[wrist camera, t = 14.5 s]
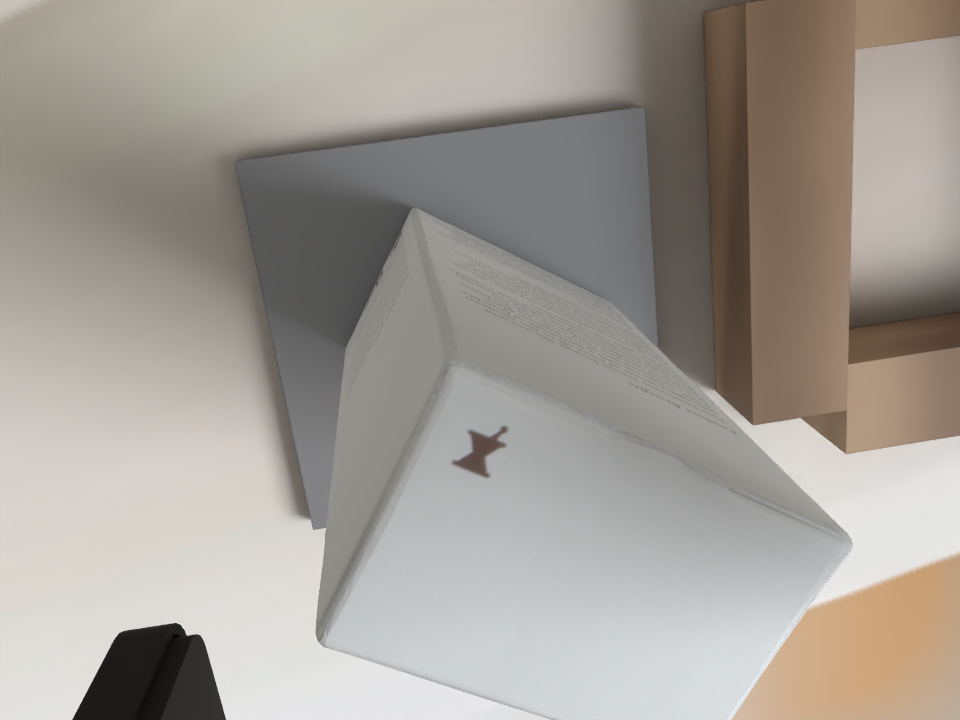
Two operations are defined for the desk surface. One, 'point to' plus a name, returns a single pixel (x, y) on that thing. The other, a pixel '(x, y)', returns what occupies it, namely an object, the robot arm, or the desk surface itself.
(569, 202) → the grey rubber mat
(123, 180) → the desk surface
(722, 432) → the skincare box
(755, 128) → the box
